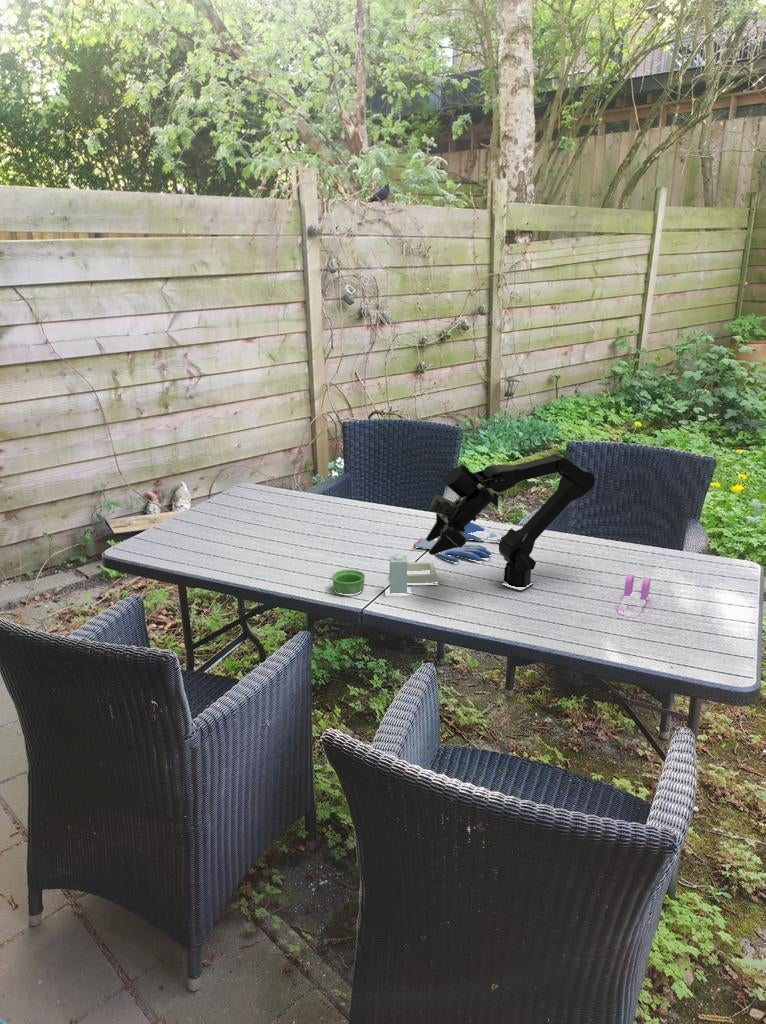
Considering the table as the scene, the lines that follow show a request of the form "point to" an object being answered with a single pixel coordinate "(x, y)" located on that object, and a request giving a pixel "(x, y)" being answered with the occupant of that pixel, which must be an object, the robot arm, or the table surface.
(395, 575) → the block
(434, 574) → the pocket tray
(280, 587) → the table surface
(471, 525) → the pair of gloves
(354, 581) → the ramekin
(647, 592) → the bracket
